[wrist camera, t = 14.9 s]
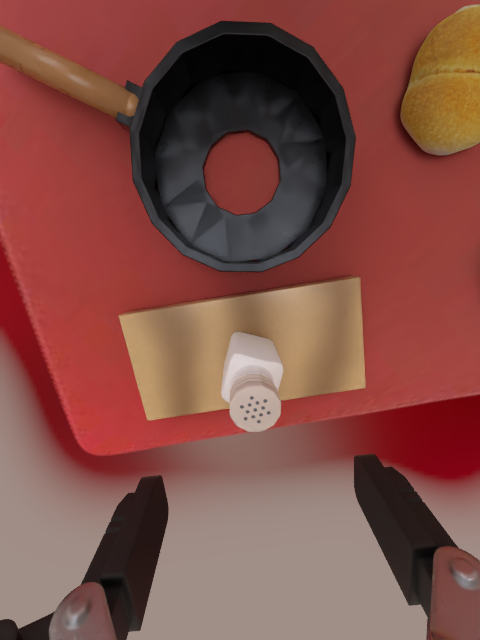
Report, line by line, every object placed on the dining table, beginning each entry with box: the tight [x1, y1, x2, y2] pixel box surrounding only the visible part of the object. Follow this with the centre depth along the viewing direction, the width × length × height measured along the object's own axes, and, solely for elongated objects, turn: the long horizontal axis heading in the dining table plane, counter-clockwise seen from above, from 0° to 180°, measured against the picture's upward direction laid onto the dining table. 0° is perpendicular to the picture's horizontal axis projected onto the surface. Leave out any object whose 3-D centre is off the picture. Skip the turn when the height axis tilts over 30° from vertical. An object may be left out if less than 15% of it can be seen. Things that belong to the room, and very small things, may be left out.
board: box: [119, 276, 366, 421], centre depth 26 cm, size 22×11×2 cm, turn 99°
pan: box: [0, 21, 356, 272], centre depth 21 cm, size 27×16×4 cm, turn 66°
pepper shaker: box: [221, 332, 283, 432], centre depth 21 cm, size 4×4×10 cm
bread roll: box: [400, 4, 480, 155], centre depth 20 cm, size 8×9×4 cm
